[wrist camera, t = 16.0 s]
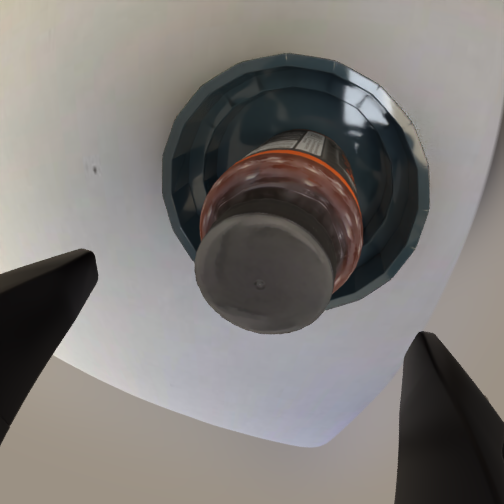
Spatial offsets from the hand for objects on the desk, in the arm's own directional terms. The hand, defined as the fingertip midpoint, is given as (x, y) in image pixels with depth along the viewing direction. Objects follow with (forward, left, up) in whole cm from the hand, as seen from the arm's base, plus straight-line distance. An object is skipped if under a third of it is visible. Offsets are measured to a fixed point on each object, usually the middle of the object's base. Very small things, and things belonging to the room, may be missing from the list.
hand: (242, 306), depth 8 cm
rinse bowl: (0, 0, -13) cm, 13 cm away
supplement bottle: (0, 0, -13) cm, 13 cm away
